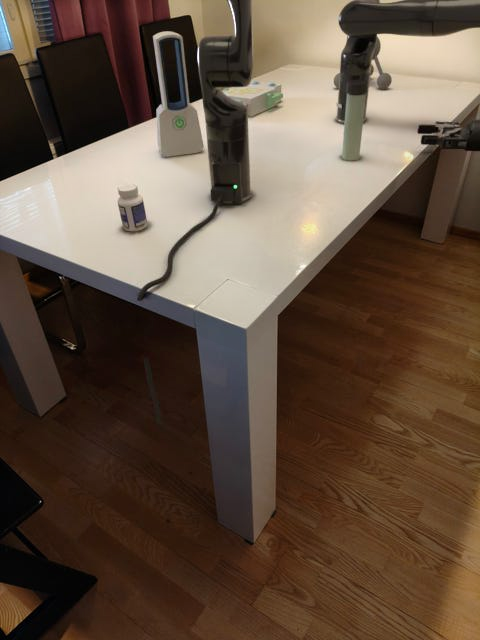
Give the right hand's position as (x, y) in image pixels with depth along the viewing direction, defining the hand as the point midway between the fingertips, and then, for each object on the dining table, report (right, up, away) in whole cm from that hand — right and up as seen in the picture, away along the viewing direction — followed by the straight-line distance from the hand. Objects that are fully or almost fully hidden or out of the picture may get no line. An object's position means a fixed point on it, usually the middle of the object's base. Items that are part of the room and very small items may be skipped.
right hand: (419, 134), depth 125 cm
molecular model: (+1, +45, +68) cm, 82 cm away
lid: (-17, +11, -5) cm, 21 cm away
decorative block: (-43, +28, +50) cm, 72 cm away
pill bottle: (-69, -28, -20) cm, 77 cm away
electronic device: (-64, +2, +17) cm, 66 cm away
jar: (-16, -4, +7) cm, 18 cm away
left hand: (-39, +36, 0) cm, 53 cm away
